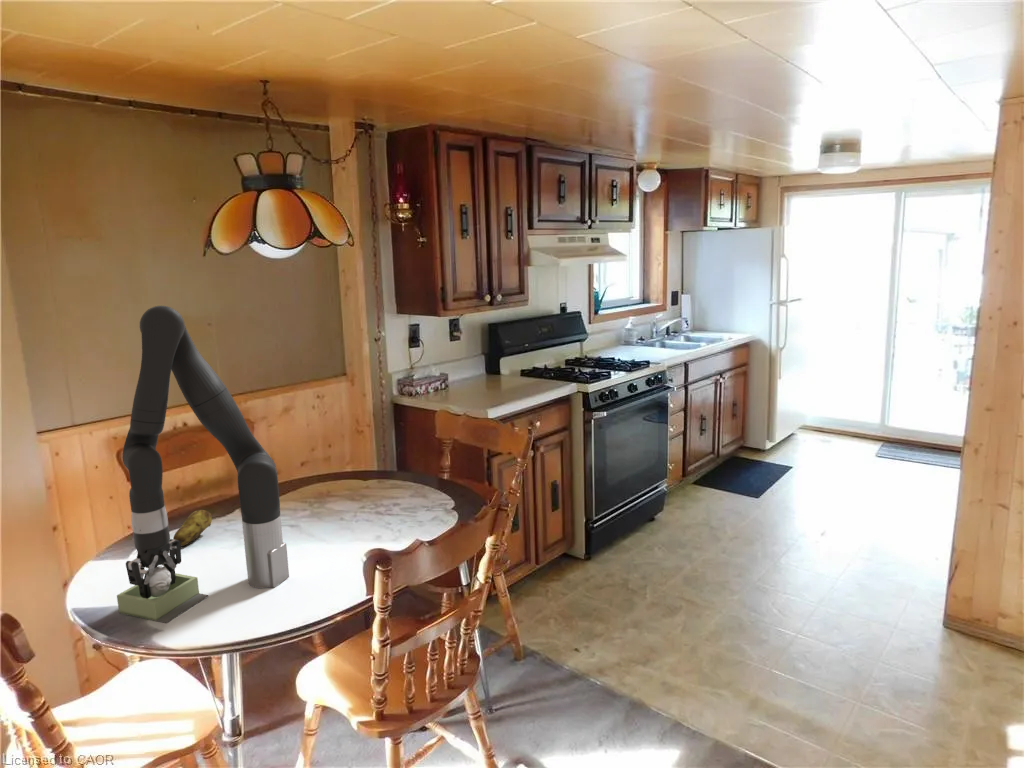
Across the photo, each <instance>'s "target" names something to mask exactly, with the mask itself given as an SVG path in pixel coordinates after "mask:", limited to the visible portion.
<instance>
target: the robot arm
mask: <svg viewBox="0 0 1024 768" xmlns="http://www.w3.org/2000/svg"><path fill="white" fill-rule="evenodd" d="M139 330H140V335H141V362H140V370H139V375H138V379H137V383H136V387H135V392H134V396H133V401H132V408H131V415H130V423H129V424H130V425H129V429H128V431H127V434H126V435H127V436H126V438H125V441H124V444H123V448H122V457H121V458H122V463H123V465H124V466H125V468H126V469H127V471H128V475H129V481H130V489H129V494H128V496H129V504H130V512H131V529H132V535H133V542H134V548H135V549H136V551H137V556H136V558H134V559H132V560H127V561H126V562H125V567H126V572H127V577H128V582H129V584H130V585H133V586H135V585H138V586H139V592H140V596H141V597H142V598H146V599H148V598H150V597H151V593H150V587H149V586H150V585H149V583H148V582H149V579H150V575H152V574H153V571H154V568H156V567H158V566H162V567H166V568H167V569H168V570H169V571H170V573H171V579H172V580H171V582H170V584H171V585H172V584H174V583H175V579H176V576H175V573H176V571H175V570H176V567H177V565H178V564H181V562H182V549H181V547H182V546H181V545H180V541H179V540H174V539H172V538H171V534H170V527H169V519H168V513H167V512H168V511H167V509H166V506H165V505H166V504H165V496H164V495H165V494H164V490H163V475H164V474H163V461H162V457H161V454H160V452H158V450H157V444H158V439H159V435H161V434H162V432H163V430H164V427H165V422H166V415H167V410H168V409H167V408H168V401H169V393H170V392H169V391H170V381H171V372H172V374H173V376H174V378H175V380H176V382H177V385H178V387H179V390H180V391H181V394H182V395H183V397H184V399H185V401H186V402H187V405H189V407H190V409H191V410H192V412H193V413H194V415H195V416H196V418H197V420H199V422H200V424H201V425H202V426H203V427H204V429H206V430H207V431H208V432H209V434H211V435H212V436H213V437H214V438H215V439H216V440H217V441H218V442H219V443H220V444H221V445H222V447H223V448H224V449H225V451H226V453H227V454H228V456H229V457H230V459H231V461H232V463H233V466H234V468H235V469H236V472H237V488H238V496H239V507H240V508H239V509H240V513H241V522H242V532H243V533H242V534H243V542H244V544H243V545H244V553H245V555H244V556H245V561H246V562H245V563H246V564H245V565H246V572H247V574H246V575H247V582H248V583H247V584H248V585H249V586H250V587H252V588H257V589H265V588H276V587H277V586H278V585H280V584H281V583H282V582H284V581H286V580H287V579H288V578H290V572H289V571H290V570H289V560H288V558H289V557H288V548H287V543H286V542H284V540H283V539H284V538H283V529H282V517H281V516H282V515H281V500H280V489H279V479H278V478H279V477H278V472H277V465H276V463H275V461H274V460H273V459H272V457H271V455H269V454H268V452H267V451H266V449H265V448H264V447H263V446H262V444H260V442H259V441H258V440H257V438H256V437H255V436H254V435H253V433H252V431H251V429H250V427H249V425H248V423H247V422H246V418H245V417H244V415H243V413H242V412H241V410H240V408H239V406H238V404H237V403H236V401H235V399H234V398H233V396H232V394H231V393H230V391H229V389H228V387H227V386H226V385H225V384H224V382H223V381H222V379H221V377H220V376H219V375H218V374H217V373H216V371H215V370H214V369H213V368H212V366H210V365H211V364H209V363H208V362H207V361H206V359H204V357H203V356H202V355H201V353H200V352H199V350H198V348H197V347H196V345H195V343H194V342H193V340H192V339H193V338H191V336H190V333H189V332H188V330H187V327H186V324H185V321H184V319H183V316H182V314H181V313H179V311H178V310H176V309H174V308H173V307H171V306H167V305H155V306H153V307H150V308H148V309H147V310H145V312H143V314H142V316H141V318H140V321H139ZM145 568H146V569H145Z"/></svg>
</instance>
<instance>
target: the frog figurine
mask: <svg viewBox="0 0 1024 768" xmlns="http://www.w3.org/2000/svg"><path fill="white" fill-rule="evenodd" d="M171 580H172V579H171V573H170V571H169V570H168V569H167V568H166V567H164V566H163V565H158V566H157V567H156V568H154V571H153V574H152V575H150V579H149V582H148V583H149V585H150V586H149V587H150V593H151V596H152V597H160V596H162V595H164V594H165V593H166V592H167V590H168V588H169V586H170V582H171Z"/></svg>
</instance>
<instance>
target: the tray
mask: <svg viewBox="0 0 1024 768" xmlns="http://www.w3.org/2000/svg"><path fill="white" fill-rule="evenodd" d="M175 576H176V579H175V583H174V584H172V585H171V584H170V586H169V588H168V590H167V592H166V593H165V594H164V595H162V596H160V597H152V596H151V597H150V598H148V599H146V598H142V597H141V596H140V592H139V586H138V585H133V586H130V587H129V588H128V589H125V590H124V591H122V592H120V593H118V594H117V595H116V601H117V605H118V607H117V609H118V613H119V614H120V615H121V614H122V615H127V616H131V617H136V618H140V619H144V620H149V621H153V622H158V623H164V624H168V623H169V622H171V621H172V620H174V619H176V618H177V617H178V616H180V615H181V614H183V613H184V612H186V611H188V610H190V609H191V608H193V607H194V606H196V605H197V604H199V603H201V602H202V601H204V600H205V599H207V598H208V597H209V594H206V593H200V591H199V590H200V589H199V581H198V577H197V576H192V575H187V574H181V573H176V572H175Z"/></svg>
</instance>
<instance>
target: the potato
mask: <svg viewBox="0 0 1024 768" xmlns="http://www.w3.org/2000/svg"><path fill="white" fill-rule="evenodd" d="M212 516H213V515H212V513H211V512H210V511H208V510H204V509H197V510H195V511H193V512H191V513H190V514H189V516H188V517H187V518H186V519H185V520H184V522H183V523H182V524H181V526H180V527H179V528H178V529H177V531H176V532H175V534H174V535H173V539H174V540H179V541H180V545H181V547H184V546H187V545H188V544H189V543H191V542H193V541H195V540H196V539H197V538H199V536H200V535H201V534H202V533H203V532H204V531H205V530H206V529H207V528H208V527H211V525H212V520H213V519H212V518H213V517H212Z"/></svg>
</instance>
